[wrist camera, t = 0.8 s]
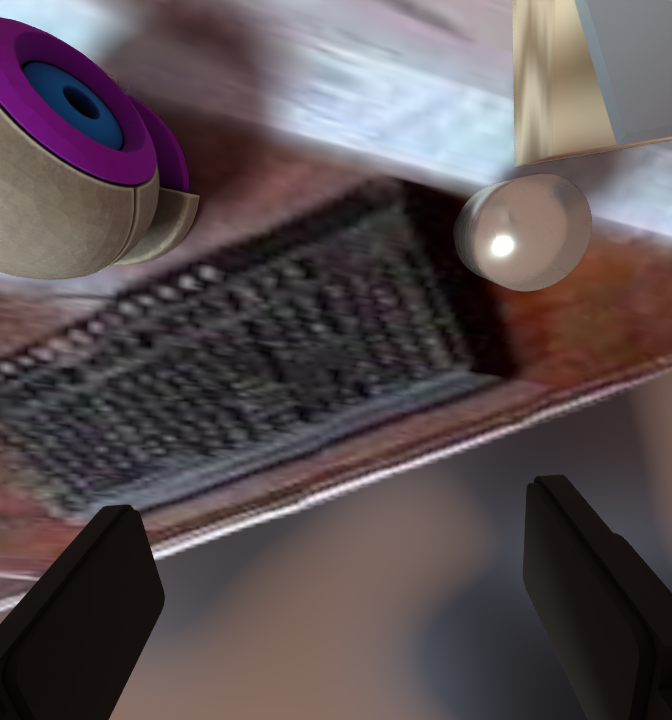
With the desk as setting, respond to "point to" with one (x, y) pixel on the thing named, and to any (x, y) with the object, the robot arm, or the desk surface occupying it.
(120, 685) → the robot arm
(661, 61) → the plate
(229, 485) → the desk surface
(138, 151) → the webcam
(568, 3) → the block
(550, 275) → the light bulb
